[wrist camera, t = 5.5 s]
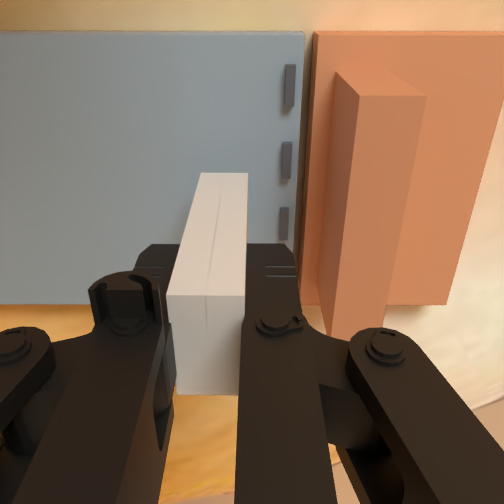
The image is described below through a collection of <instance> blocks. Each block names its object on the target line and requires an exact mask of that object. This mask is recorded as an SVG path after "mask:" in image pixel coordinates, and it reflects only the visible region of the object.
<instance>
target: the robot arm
mask: <svg viewBox="0 0 504 504" xmlns="http://www.w3.org/2000/svg"><path fill="white" fill-rule="evenodd" d="M88 295H89V299H90V304H91V308H92V313H93V317H94V322H95V326H94V328H93V330H92V332H91V333H88V334H86V335H83V336H79V337H76V338H71V339H66V340H61V341H57V342H52V343H51V341H50V337H49V336H48V335H47V334H46V332H45V331H44V330H41V329H38V328H36V327H17V328H12V329H7V330H4V331H2V332H0V504H158V500H159V495H160V489H161V484H162V478H163V473H164V467H165V462H166V456H167V451H168V445H169V440H170V434H171V429H172V423H173V418H174V409H173V399H172V396H173V391H174V386H175V381H176V389H177V395H239V397H238V422H237V446H236V471H235V498H234V504H338V503H337V498H336V491H335V484H334V478H333V472H332V466H331V459H330V453H329V447H328V443H330V444H333V445H335V446H336V451H337V453H338V455H339V457H340V460H341V462H342V464H343V466H344V468H345V471H346V473H347V475H348V477H349V479H350V482H351V484H352V486H353V489H354V491H355V493H356V495H357V497H358V500H359V502H360V504H504V451H503V449H502V448H501V447H500V446H499V444H498V443H497V442H496V441H495V440H494V438H493V437H492V436H491V435H490V433H489V432H488V431H487V430H486V428H485V427H484V426H483V425H482V423H481V422H480V421H479V420H478V419H477V417H476V416H475V415H474V414H473V412H472V411H471V410H470V409H469V407H468V406H467V405H466V404H465V402H464V401H463V400H462V399H461V397H460V396H459V395H458V394H457V393H456V391H455V390H454V389H453V388H452V386H451V385H450V384H449V383H448V381H447V380H446V379H445V378H444V376H443V375H442V374H441V373H440V372H439V370H438V369H437V368H436V367H435V365H434V364H433V363H432V362H431V360H430V359H429V358H428V357H427V355H426V354H425V353H424V352H423V351H422V349H421V348H420V347H419V346H418V345H417V344H416V343H415V342H414V341H413V340H412V339H411V338H409V337H408V336H406V335H404V334H402V333H400V332H398V331H396V330H391V329H387V328H383V327H379V328H367V329H364V330H361V331H358V332H357V333H356V334H355V335H354V336H352V337H351V340H350V341H345V340H341V339H337V338H333V337H330V336H327V335H324V334H322V333H320V332H318V331H316V330H315V329H314V328H312V327H311V326H310V325H309V324H308V322H307V320H306V318H305V317H304V316H303V314H302V308H301V302H300V295H299V288H298V282H297V277H296V268H295V261H294V255H293V253H292V252H291V251H290V249H289V248H288V247H287V246H286V245H285V244H281V243H248V173H201V174H200V178H199V181H198V185H197V188H196V192H195V195H194V199H193V202H192V206H191V209H190V213H189V216H188V220H187V223H186V227H185V230H184V234H183V237H182V241H181V244H151V245H150V246H148V247H147V248H146V249H145V250H144V251H142V252H141V253H140V254H139V256H138V259H137V261H136V263H135V268H133V270H132V271H122V272H116V273H113V274H110V275H106V276H104V277H102V278H100V279H99V280H97V281H95V282H94V283H93V284H92V285H91V286H90V287H89V289H88Z"/></svg>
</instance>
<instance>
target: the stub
mask: <svg viewBox="0 0 504 504" xmlns="http://www.w3.org/2000/svg"><path fill="white" fill-rule="evenodd" d="M503 100H504V32H380V31H314V38H313V54H312V69H311V84H310V100H309V115H308V131H307V146H306V161H305V177H304V192H303V208H302V223H301V238H300V254H299V269H298V288H299V295H300V302H301V305H321V309H322V314H323V319H324V324H325V328H326V333H327V336H330V337H333V338H337V339H341V340H345V341H350V340H351V337H352V336H354V335H355V334H356V333H357V332H358V331H361V330H364V329H367V328H379V327H382V325H383V320H384V315H385V310H386V305H446V303H447V300H448V296H449V292H450V289H451V285H452V282H453V278H454V275H455V271H456V267H457V264H458V260H459V257H460V253H461V250H462V246H463V242H464V239H465V235H466V232H467V228H468V225H469V221H470V217H471V214H472V210H473V207H474V203H475V200H476V196H477V192H478V189H479V185H480V182H481V178H482V175H483V171H484V167H485V164H486V160H487V157H488V153H489V150H490V146H491V142H492V139H493V135H494V132H495V128H496V125H497V121H498V117H499V114H500V110H501V107H502V103H503Z"/></svg>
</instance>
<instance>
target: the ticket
mask: <svg viewBox="0 0 504 504" xmlns="http://www.w3.org/2000/svg"><path fill="white" fill-rule="evenodd" d="M304 48H305V34H304V33H303V32H302V31H0V304H90V299H89V295H88V289H89V287H90V286H91V285H92V284H93V283H94V282H95V281H97V280H99V279H100V278H102V277H104V276H106V275H110V274H113V273H116V272H122V271H132V270H133V268H135V263H136V261H137V259H138V256H139V254H140V253H141V252H142V251H144V250H145V249H146V248H147V247H148V246H150V245H151V244H181V241H182V237H183V234H184V230H185V227H186V223H187V220H188V216H189V213H190V209H191V206H192V202H193V199H194V195H195V192H196V188H197V185H198V181H199V178H200V174H201V173H248V243H281V244H285V245H286V246H287V247H288V248H289V249H290V251H291V252H292V253H293V244H294V226H295V208H296V190H297V172H298V155H299V137H300V119H301V101H302V83H303V66H304Z"/></svg>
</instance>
